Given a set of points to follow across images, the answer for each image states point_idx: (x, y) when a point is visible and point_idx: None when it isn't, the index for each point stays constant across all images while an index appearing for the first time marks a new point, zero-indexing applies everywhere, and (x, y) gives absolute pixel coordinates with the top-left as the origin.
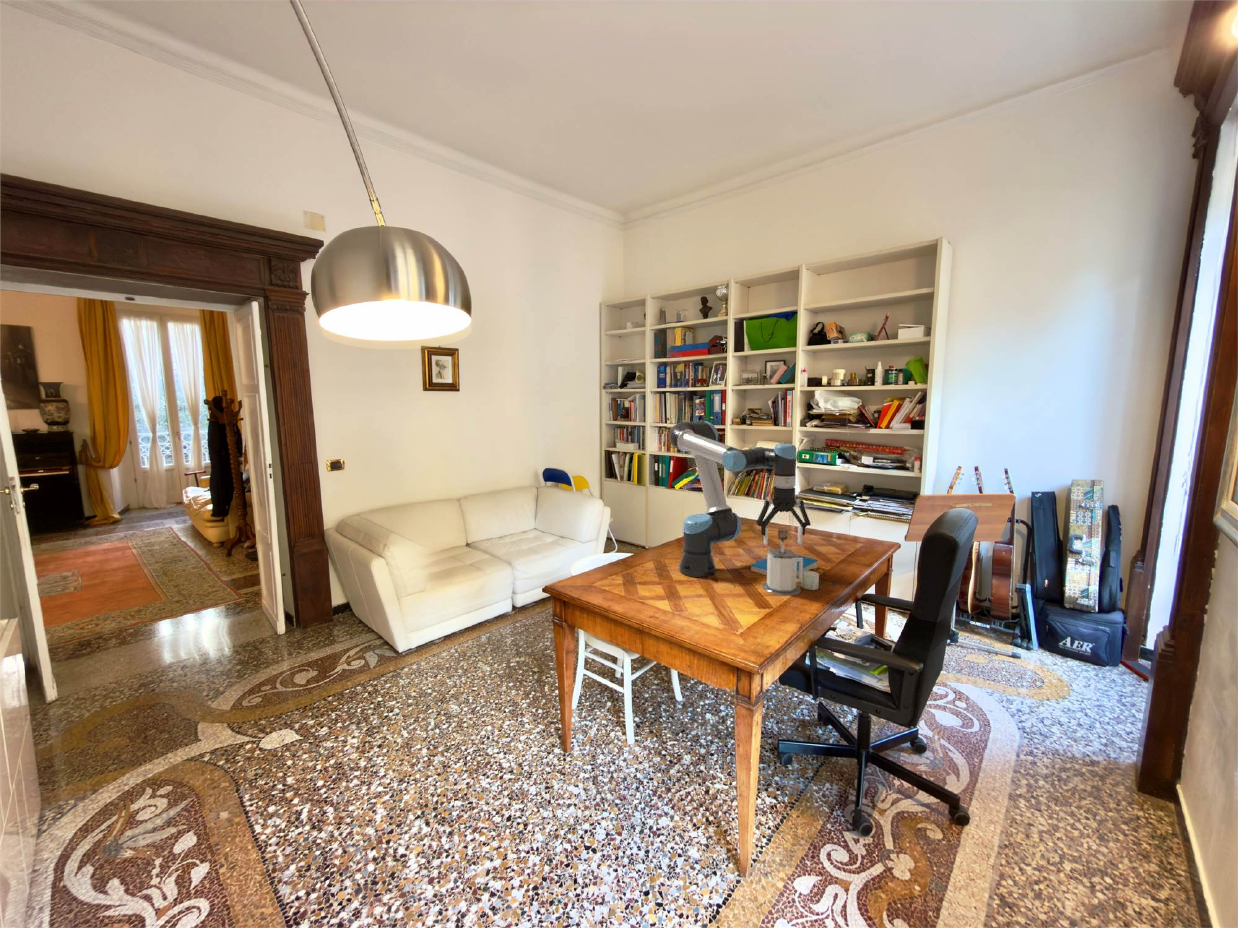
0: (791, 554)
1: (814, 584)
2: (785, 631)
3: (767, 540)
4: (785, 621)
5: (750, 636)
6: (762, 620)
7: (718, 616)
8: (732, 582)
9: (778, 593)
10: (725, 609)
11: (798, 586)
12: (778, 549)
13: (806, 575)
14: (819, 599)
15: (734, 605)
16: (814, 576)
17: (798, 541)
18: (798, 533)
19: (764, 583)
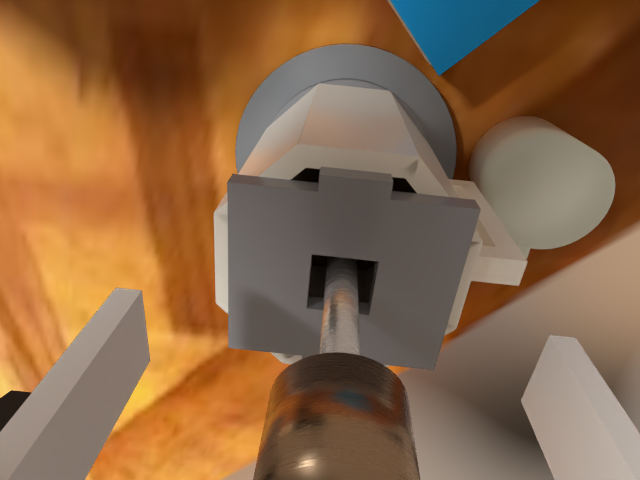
0: (402, 341)
1: None
2: (225, 462)
3: (125, 402)
4: (246, 418)
5: (115, 470)
6: (168, 405)
7: (13, 366)
8: (71, 9)
9: None
10: (37, 324)
11: (455, 157)
12: (341, 196)
13: (504, 226)
14: (478, 287)
15: (74, 297)
16: (545, 247)
17: (548, 380)
18: (605, 470)
19: (266, 88)
